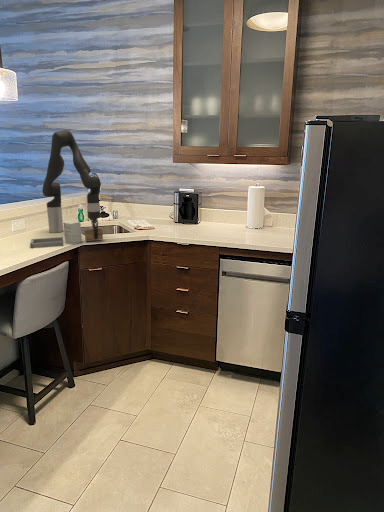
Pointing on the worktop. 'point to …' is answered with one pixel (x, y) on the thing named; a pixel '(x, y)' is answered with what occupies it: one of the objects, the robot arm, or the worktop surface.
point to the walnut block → (90, 234)
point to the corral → (46, 242)
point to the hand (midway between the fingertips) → (95, 237)
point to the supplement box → (72, 232)
